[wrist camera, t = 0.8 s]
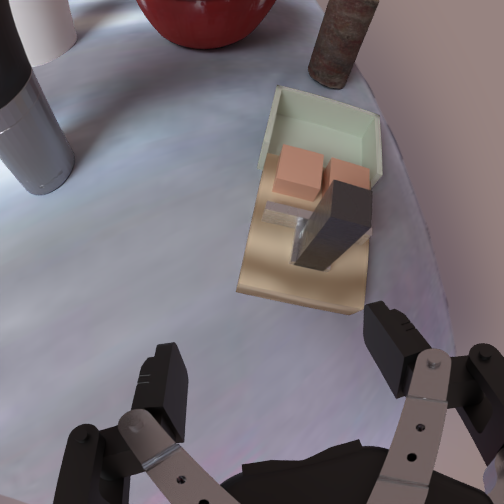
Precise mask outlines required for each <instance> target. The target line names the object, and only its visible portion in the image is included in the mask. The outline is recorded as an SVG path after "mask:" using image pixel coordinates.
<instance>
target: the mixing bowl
mask: <svg viewBox="0 0 504 504" xmlns="http://www.w3.org/2000/svg"><path fill="white" fill-rule="evenodd" d="M136 1H137V3H138V5H139V7H140V8H141V10H142V12H143V13H144V15H145V16H146V18H147V19H148V20H149V22H150V23H151V24H152V25H153V27H154V28H155V29H156V30H157V31H158V32H159V33H160V34H161V35H162V36H163V37H164V38H166V39H167V40H169V41H171V42H173V43H175V44H178V45H181V46H185V47H189V48H195V49H212V48H219V47H223V46H226V45H229V44H232V43H235V42H237V41H239V40H241V39H243V38H245V37H246V36H247V35H249V34H250V33H251V32H252V31H253V30H254V29H255V28H256V27H257V26H258V25H259V23H260V22H261V21H262V20H263V19H264V17H265V16H266V15H267V13H268V12H269V11H270V9H271V8H272V6H273V4H274V3H275V1H276V0H136Z"/></svg>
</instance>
